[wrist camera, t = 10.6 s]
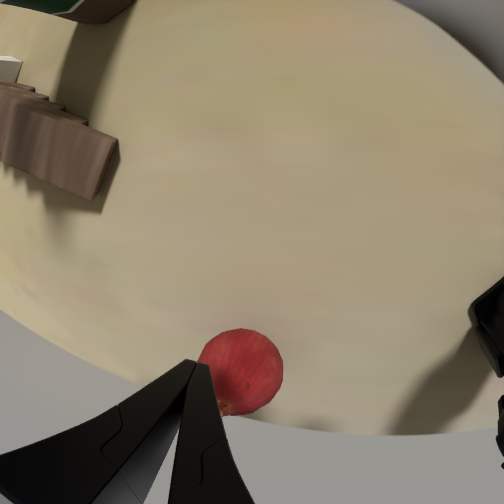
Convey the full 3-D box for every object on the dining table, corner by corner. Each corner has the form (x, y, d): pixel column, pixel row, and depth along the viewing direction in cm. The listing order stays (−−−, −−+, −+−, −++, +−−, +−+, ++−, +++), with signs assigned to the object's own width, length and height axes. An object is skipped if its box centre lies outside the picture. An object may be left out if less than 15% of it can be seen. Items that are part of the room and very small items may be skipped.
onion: (299, 363, 21) (282, 444, 14) (234, 371, 23) (200, 442, 16) (276, 301, 20) (247, 378, 13) (206, 315, 22) (156, 382, 15)
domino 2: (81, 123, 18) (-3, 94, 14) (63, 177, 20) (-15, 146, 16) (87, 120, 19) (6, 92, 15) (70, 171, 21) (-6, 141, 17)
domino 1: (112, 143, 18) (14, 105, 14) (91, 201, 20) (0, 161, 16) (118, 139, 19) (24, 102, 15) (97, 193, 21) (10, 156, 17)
